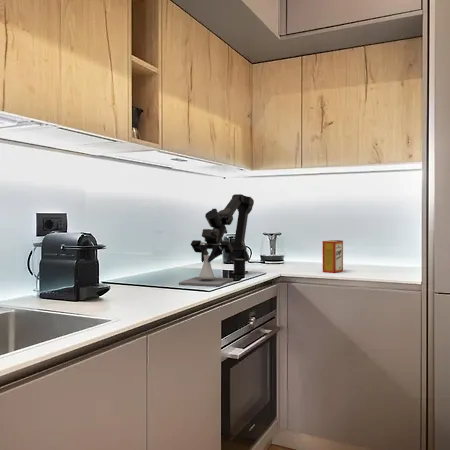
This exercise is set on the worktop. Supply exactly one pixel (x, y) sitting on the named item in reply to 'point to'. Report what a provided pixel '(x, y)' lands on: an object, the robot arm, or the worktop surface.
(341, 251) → the baking soda box
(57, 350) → the worktop surface
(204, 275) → the flask
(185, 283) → the mat
